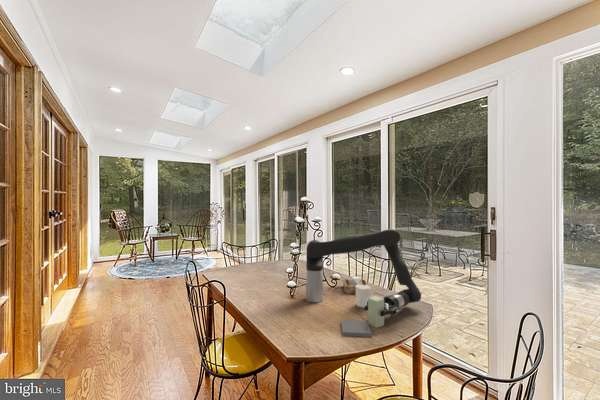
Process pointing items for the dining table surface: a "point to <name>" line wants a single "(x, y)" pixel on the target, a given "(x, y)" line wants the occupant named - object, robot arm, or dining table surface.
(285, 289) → the dining table surface
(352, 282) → the die
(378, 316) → the block
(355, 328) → the coaster
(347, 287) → the die frame
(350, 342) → the dining table surface
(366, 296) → the white cup
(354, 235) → the robot arm
